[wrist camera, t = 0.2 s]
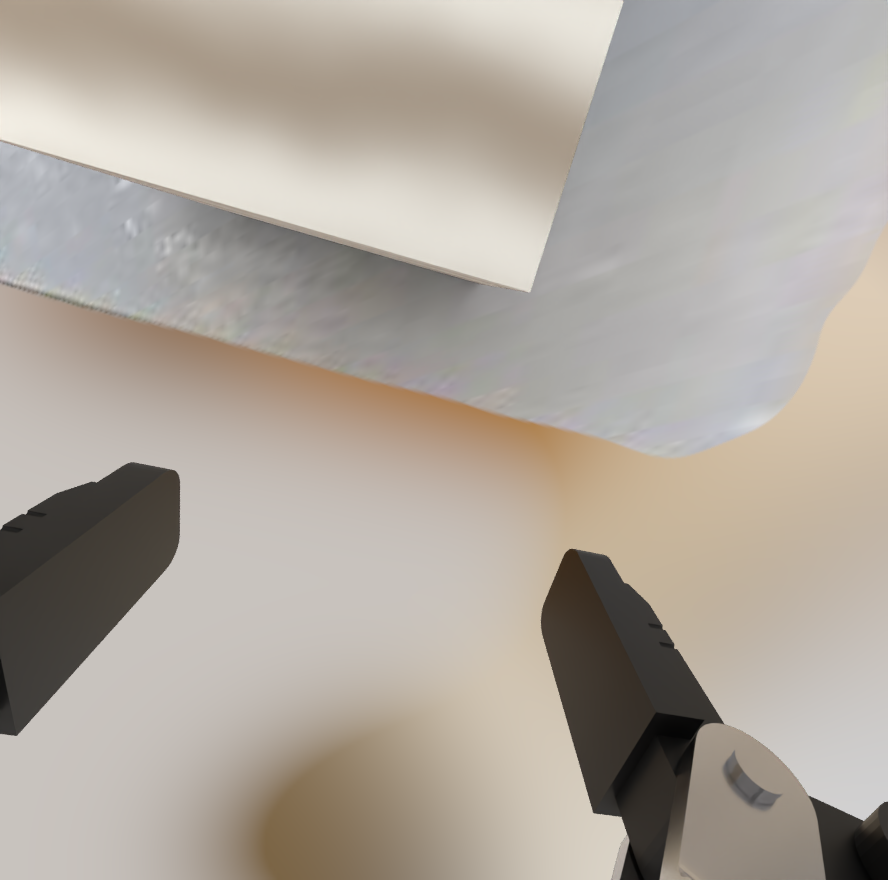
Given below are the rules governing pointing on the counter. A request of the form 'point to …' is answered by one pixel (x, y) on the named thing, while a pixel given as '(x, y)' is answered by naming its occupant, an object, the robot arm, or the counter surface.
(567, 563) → the robot arm
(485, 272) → the stepped wooden blocks
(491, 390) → the counter surface
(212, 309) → the counter surface
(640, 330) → the counter surface
